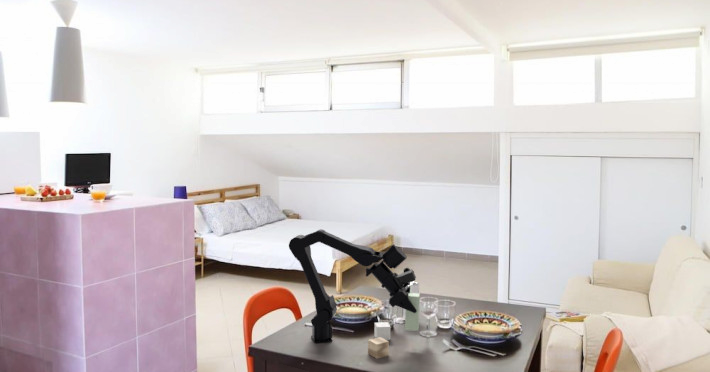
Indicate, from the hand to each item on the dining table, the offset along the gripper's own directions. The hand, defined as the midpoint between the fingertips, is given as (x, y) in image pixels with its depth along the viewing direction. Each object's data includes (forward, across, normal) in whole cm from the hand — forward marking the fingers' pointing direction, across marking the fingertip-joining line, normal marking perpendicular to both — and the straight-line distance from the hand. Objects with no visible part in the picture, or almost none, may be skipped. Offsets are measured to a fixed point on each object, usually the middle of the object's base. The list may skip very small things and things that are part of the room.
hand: (416, 310), depth 194 cm
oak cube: (+1, -10, +18) cm, 20 cm away
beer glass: (+6, +29, +13) cm, 33 cm away
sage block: (+4, 0, +6) cm, 7 cm away
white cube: (+1, +7, +18) cm, 20 cm away
